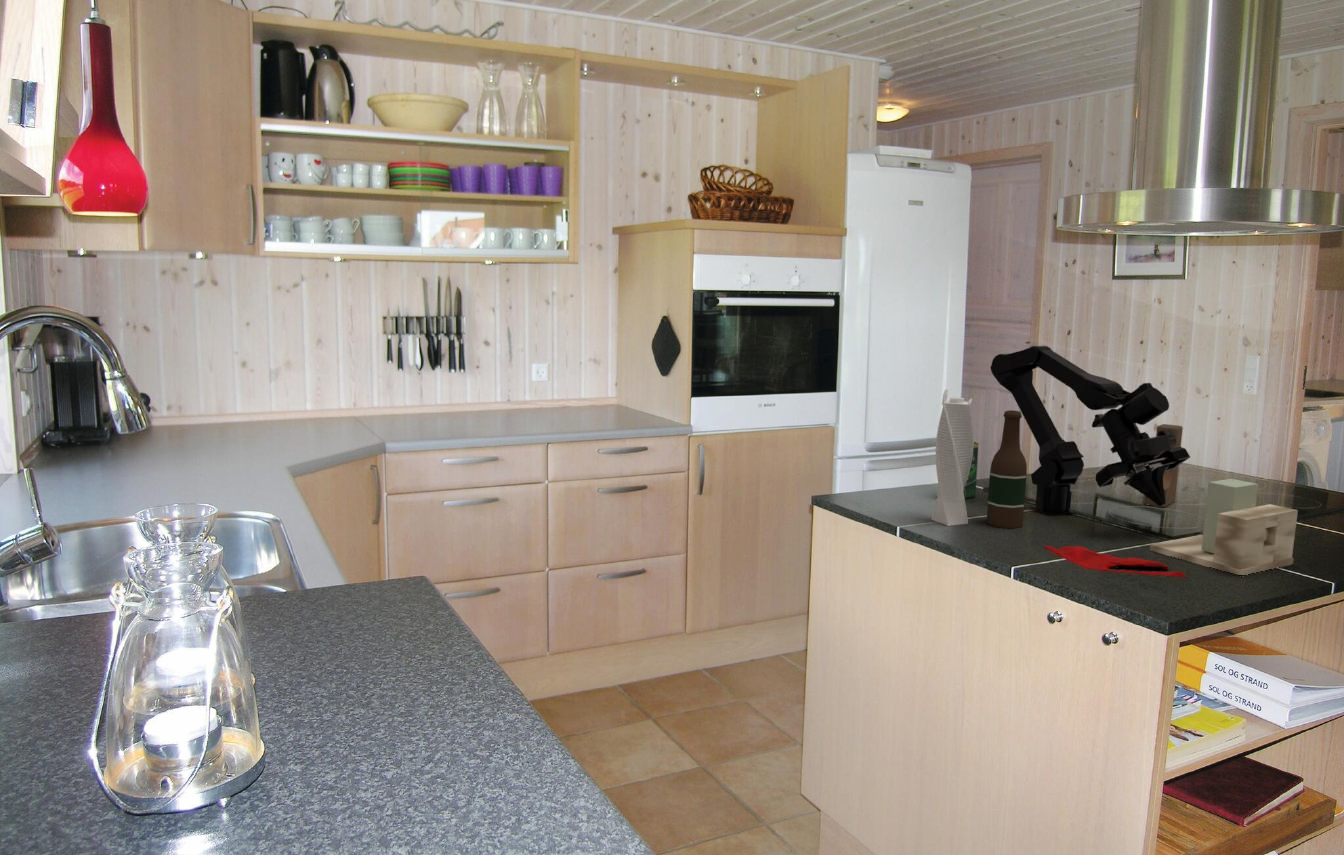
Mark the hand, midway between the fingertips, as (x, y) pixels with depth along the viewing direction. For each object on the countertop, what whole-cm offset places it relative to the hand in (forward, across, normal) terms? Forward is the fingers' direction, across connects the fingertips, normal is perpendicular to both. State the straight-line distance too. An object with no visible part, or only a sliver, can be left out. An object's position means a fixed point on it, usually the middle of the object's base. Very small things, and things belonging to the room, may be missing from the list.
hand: (1162, 505), depth 188 cm
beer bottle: (-8, -24, +17) cm, 30 cm away
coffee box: (-21, -20, +35) cm, 46 cm away
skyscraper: (-12, -34, +19) cm, 41 cm away
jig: (+14, +2, -6) cm, 15 cm away
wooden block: (-6, +23, +28) cm, 37 cm away
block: (+14, +2, -8) cm, 16 cm away
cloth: (+10, -22, -5) cm, 24 cm away
